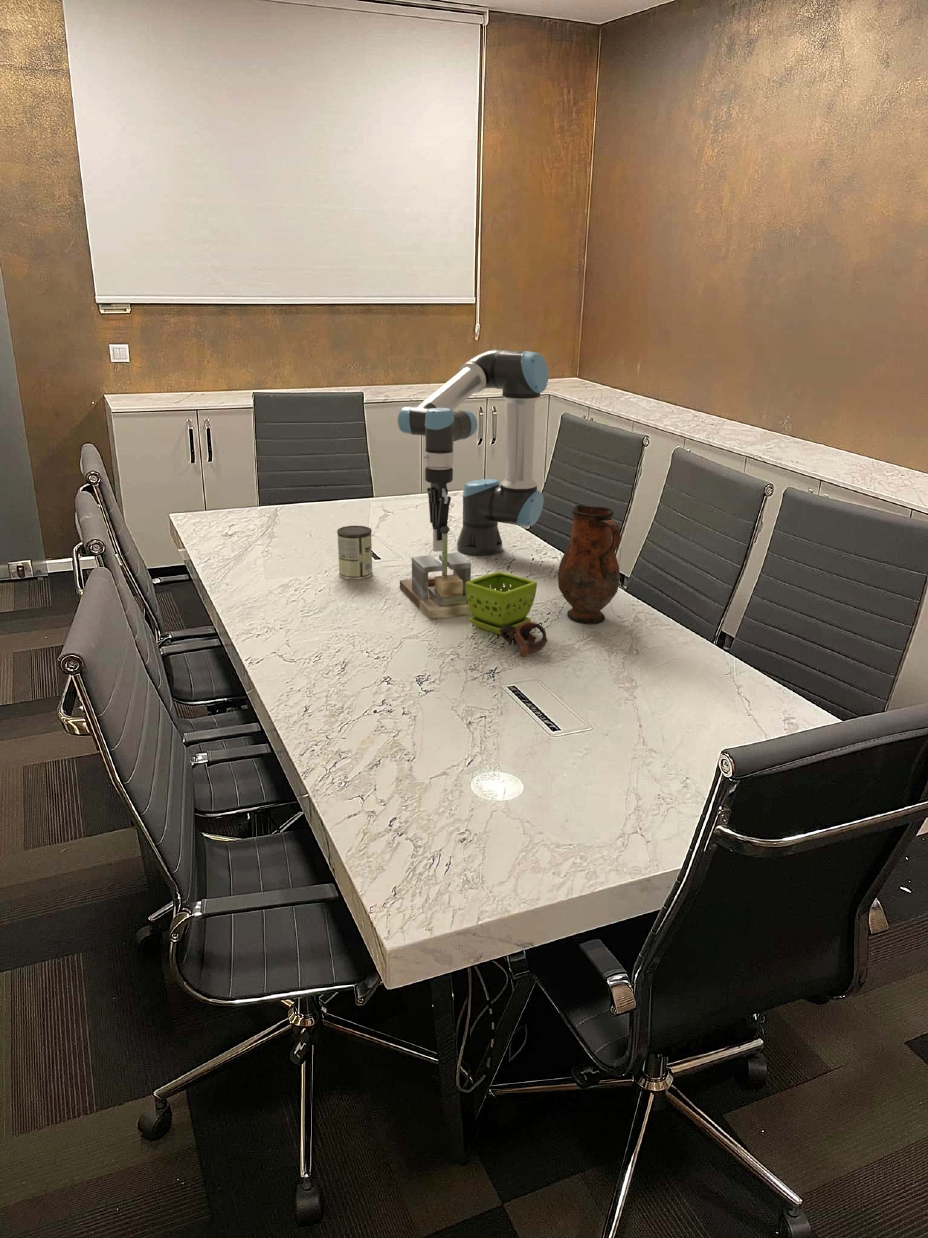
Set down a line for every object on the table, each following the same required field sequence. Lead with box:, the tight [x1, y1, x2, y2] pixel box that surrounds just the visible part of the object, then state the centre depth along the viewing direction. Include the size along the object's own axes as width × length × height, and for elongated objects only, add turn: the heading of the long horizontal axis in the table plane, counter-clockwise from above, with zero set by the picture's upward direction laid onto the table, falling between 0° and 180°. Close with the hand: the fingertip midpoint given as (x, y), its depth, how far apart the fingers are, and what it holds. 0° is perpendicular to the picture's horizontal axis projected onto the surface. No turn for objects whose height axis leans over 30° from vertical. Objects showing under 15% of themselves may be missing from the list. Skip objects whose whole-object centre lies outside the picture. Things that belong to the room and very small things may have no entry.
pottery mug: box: [500, 621, 548, 658], centre depth 229 cm, size 12×9×8 cm
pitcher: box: [557, 504, 621, 625], centre depth 245 cm, size 17×21×30 cm
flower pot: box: [465, 571, 538, 635], centre depth 242 cm, size 14×14×13 cm
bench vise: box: [399, 552, 474, 621], centre depth 260 cm, size 16×27×12 cm, turn 21°
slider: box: [429, 525, 468, 606], centre depth 252 cm, size 9×10×20 cm
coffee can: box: [336, 525, 373, 581], centre depth 280 cm, size 10×10×14 cm
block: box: [434, 574, 463, 597], centre depth 255 cm, size 6×6×6 cm
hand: (438, 550), depth 259 cm, fingers closed
